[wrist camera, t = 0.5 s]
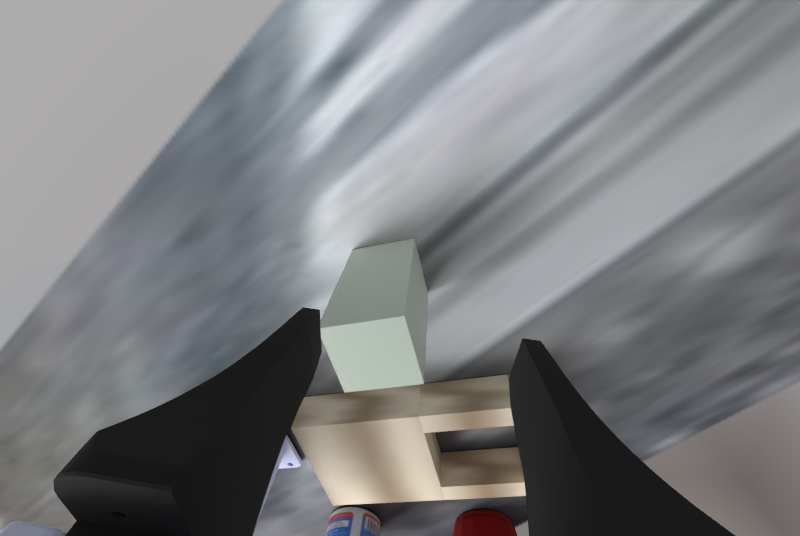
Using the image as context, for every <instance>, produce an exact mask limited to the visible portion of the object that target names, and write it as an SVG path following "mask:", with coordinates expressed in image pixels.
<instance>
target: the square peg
mask: <svg viewBox="0 0 800 536" xmlns="http://www.w3.org/2000/svg"><path fill="white" fill-rule="evenodd" d="M427 303H428V291H427V287H426V283H425V278H424V274H423V270H422V266H421V262H420V258H419V254H418V250H417V246H416V242H415V238H412V239H407V240H401V241H396V242H391V243H385V244H380V245H375V246H369V247H364V248H359V249H353V250H352V252H351V255H350V257H349V259H348V261H347V263H346V266H345V268H344V270H343V272H342V275H341V277H340V279H339V281H338V283H337V286H336V288H335V290H334V292H333V295H332V297H331V299H330V301H329V303H328V306H327V308H326V310H325V312H324V315H323V317H322V319H321V321H320V329H321V339H322V341H323V344H324V346H325V348H326V351H327V353H328V355H329V358H330V360H331V362H332V365H333V367H334V369H335V372H336V374H337V376H338V379H339V381H340V383H341V386H342V388H343V390H344V393H347V392H356V391H365V390H374V389H383V388H392V387H401V386H410V385H419V384H424V376H425V351H426V327H427Z"/></svg>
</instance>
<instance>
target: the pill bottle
mask: <svg viewBox="0 0 800 536" xmlns="http://www.w3.org/2000/svg"><path fill="white" fill-rule="evenodd" d="M380 530H381V524H380V521H379V519H378V517H377V516H376V515H374V514H373V513H372V512H370V511H368V510H365V509H362V508H358V507H344V508H340V509H338V510H336V511H334V512H333V513H332V514H331V516H330V519H329V522H328V527H327V531H326V536H380Z"/></svg>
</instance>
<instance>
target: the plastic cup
mask: <svg viewBox="0 0 800 536" xmlns="http://www.w3.org/2000/svg"><path fill="white" fill-rule="evenodd" d="M453 536H517V534H516V531H515V528H514V527H513V524H512V521H511V520H510V519H509V518H508V517H507V516H506V515H504V514H501V513H499V512H497V511H492V510H485V509H482V510H472V511H469V512H466V513H463V514H462V515H460V516H459V517H458V518H457V520H456V523H455V527H454V530H453Z"/></svg>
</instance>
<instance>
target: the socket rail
mask: <svg viewBox="0 0 800 536" xmlns="http://www.w3.org/2000/svg"><path fill="white" fill-rule="evenodd" d="M509 377H510V374H507V375H498V376H489V377H480V378H471V379H462V380H453V381H444V382H435V383H426V384H419V385H410V386H401V387H392V388H383V389H374V390H365V391H356V392H347V393H336V394H327V395H318V396H309V397H304V399H303V401H302V403H301V405H300V407H299V410H298V412H297V415H296V417H295V420H294V422H293V425H292V427H291V430H292V432H293V433H294V435H295V437H296V439H297V441H298V442H299V444H300V446H301V448H302V450H303V451H304V453H305V455H306V457H307V459H308V460H309V462H310V464H311V466H312V468H313V469H314V471H315V473H316V475H317V477H318V478H319V480H320V482H321V484H322V486H323V487H324V489H325V491H326V493H327V495H328V496H329V498H330V500H331V502H332V504H333V505H353V504H373V503H393V502H413V501H433V500H453V499H473V498H493V497H513V496H526V492H525V482H524V476H523V469H522V464H521V459H520V454H519V449H518V447H511V448H497V449H484V450H470V451H457V452H443V453H441V452H440V449H439V445H438V442H437V438H436V435H435V432H444V431H455V430H467V429H479V428H491V427H502V426H514V423H513V418H512V412H511V406H510V392H509Z"/></svg>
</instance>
